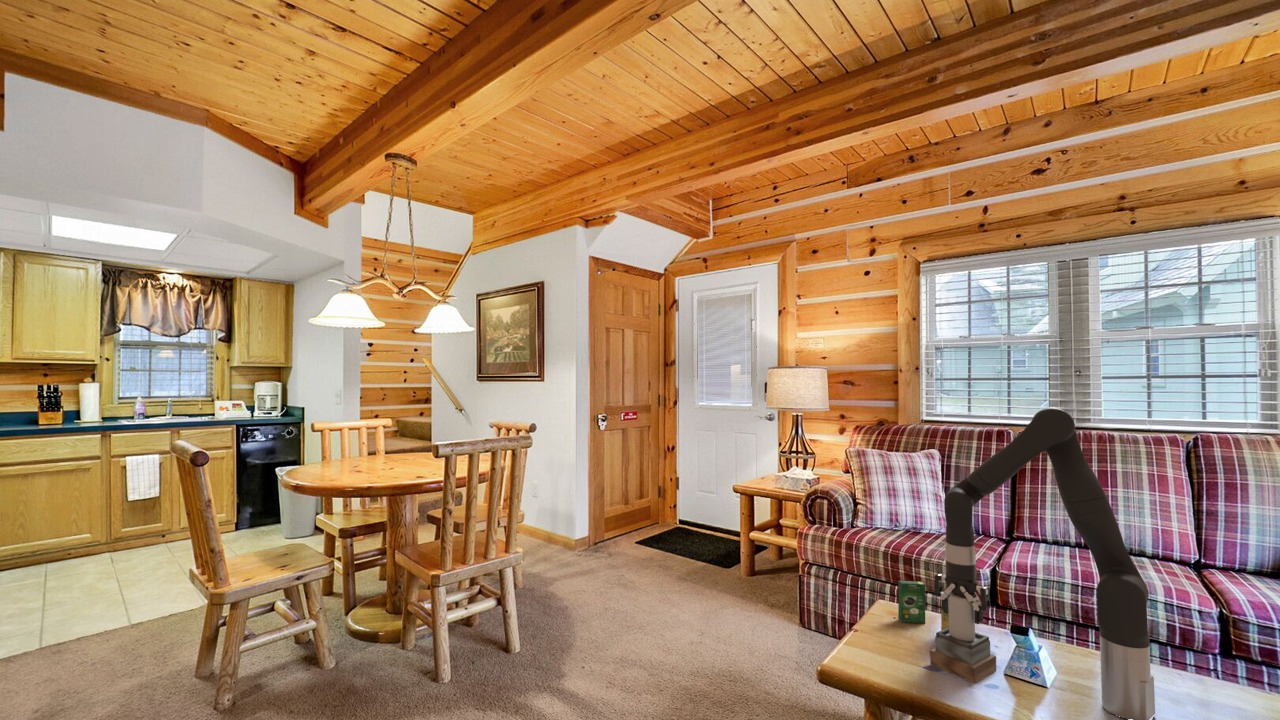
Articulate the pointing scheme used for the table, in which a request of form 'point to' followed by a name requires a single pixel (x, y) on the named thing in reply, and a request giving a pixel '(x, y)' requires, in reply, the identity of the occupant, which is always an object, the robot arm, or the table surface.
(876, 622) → the table surface
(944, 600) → the robot arm
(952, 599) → the beverage can
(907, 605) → the coffee box
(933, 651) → the tower base
